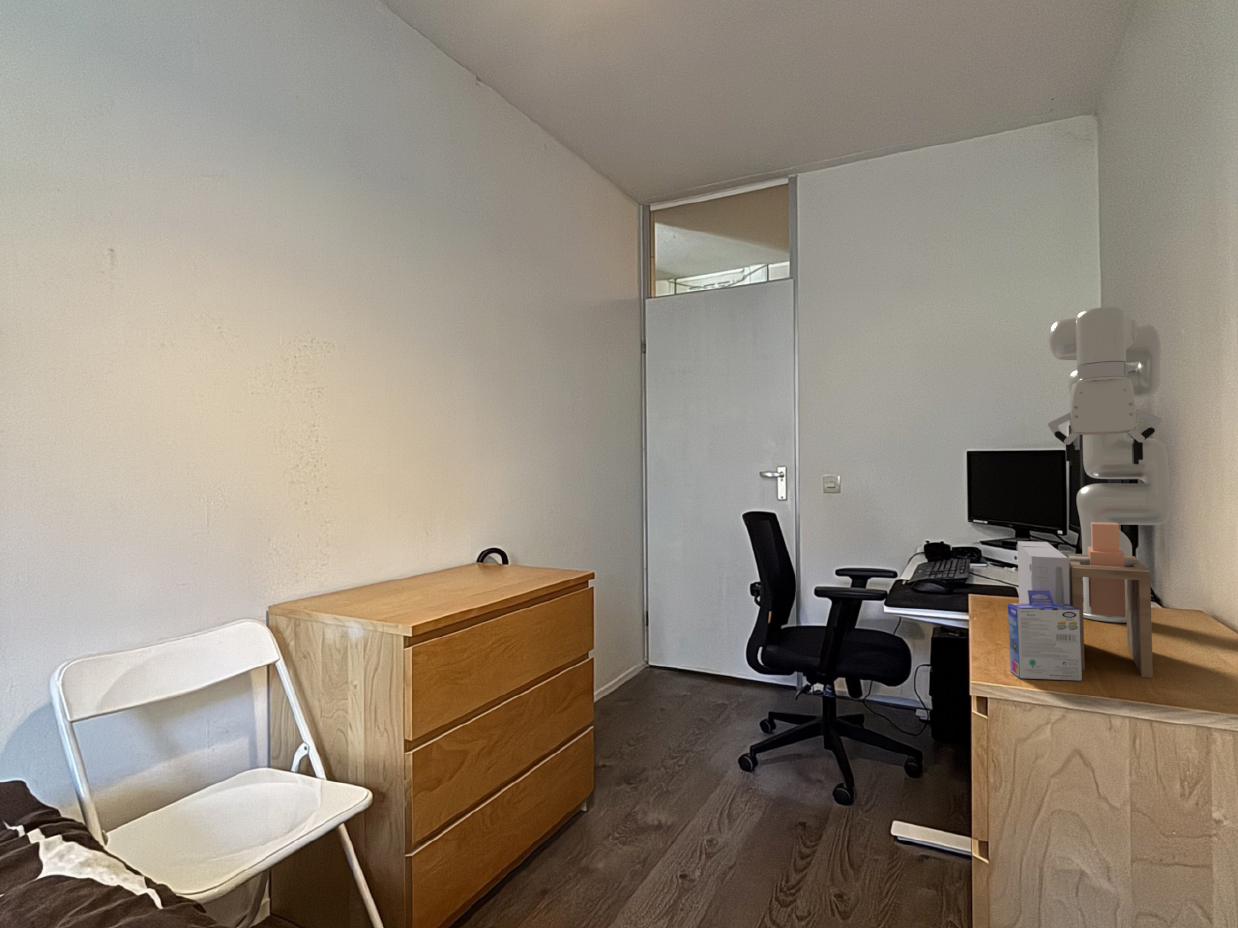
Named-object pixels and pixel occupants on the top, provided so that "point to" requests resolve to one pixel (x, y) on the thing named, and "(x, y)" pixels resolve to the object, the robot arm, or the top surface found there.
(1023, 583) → the game console
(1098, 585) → the salmon stepped block
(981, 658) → the top surface
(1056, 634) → the ink cartridge box
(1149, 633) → the wooden rack
